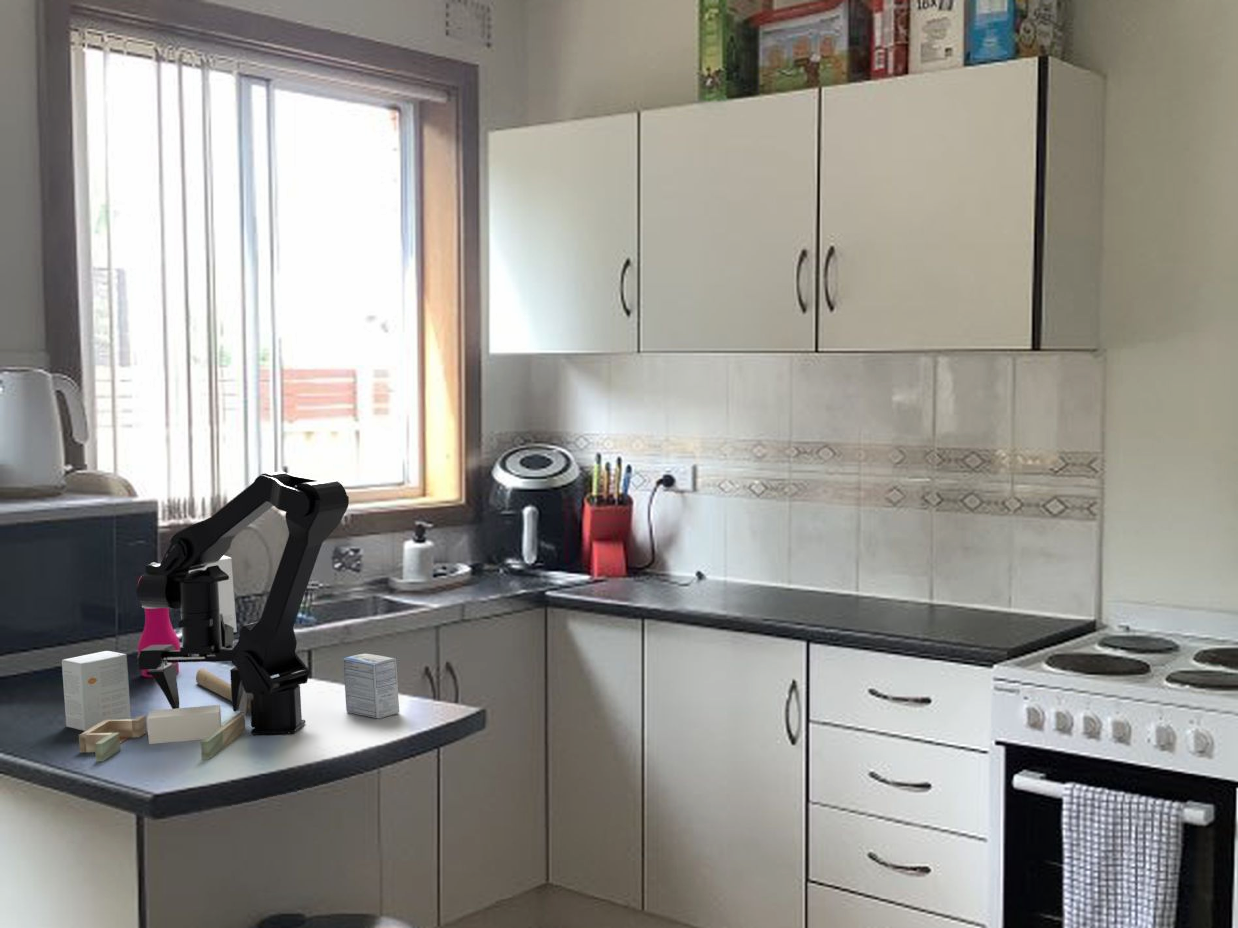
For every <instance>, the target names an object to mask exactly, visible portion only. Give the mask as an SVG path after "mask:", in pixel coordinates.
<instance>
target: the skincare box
mask: <svg viewBox="0 0 1238 928" xmlns="http://www.w3.org/2000/svg"><path fill="white" fill-rule="evenodd" d="M215 565H218V566H219V568H220V569H221V570H222V571H224V572H225V573H226V574H227V575H228V576H229V579H228V580H225V581H220V582H218V589H219V606H220V613H222V616H223V621H224V624H227V625H229V626H231V627H233V628H234V633H237V632H238V630H237V617H236V604H235V591H234V589H235V588H234V577H233V558H232V557H230V556H227V555H225V554H224V555H223V556H222V558H221V559H220V560H219V561H218V562H215V563H212V564H208V565H206V566H205V567H204V568H201V569H196V570H206V569H207V567H210V566H215ZM191 571H194V570H191ZM191 571H189V573H190V572H191Z"/></svg>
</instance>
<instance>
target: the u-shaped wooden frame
mask: <svg viewBox="0 0 1238 928" xmlns="http://www.w3.org/2000/svg"><path fill="white" fill-rule="evenodd" d="M246 730H247V727H246V714H245V713H237V714H236V715H234V716H233V717H232V718H230V719H229V720H227V722H224V723H223V724H221V727H220V728H218V729H217V730H216V731H214V732H213V733H212V734H210V735H209V736H208V737H206V738H205V739H201V740H200V749H201V751H200V752H201V760H210V759H211V758H213V757H214V756H215V755H217V754H218V753H219V752H220V751H222V750H223V749H224V748H225V747H226V746H228V745H229V744H230V743H231V742H233V741H234V740H235V739H237V738H238V737H239V736H240V735H241V734H243V733H244V732H245V731H246ZM145 734H148V720H147V715H139V716H137V717H135V718H131V719H113V720H103V721H102V722H100V723H98V724H97V725H95V726H93V727H92V728H90V729H88V730H87V731H83V732H82V733H80V734H78V745H79V753H80V754H81V753H95V762H104V761H106V760H107V759H109V758H111V756H113V755H115V754H116V753H118V752H119V751H121V744H122V743H124V742H125V741H126V740H128V739H129V738H141V737H142V736H143V735H145Z"/></svg>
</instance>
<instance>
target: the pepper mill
mask: <svg viewBox="0 0 1238 928" xmlns="http://www.w3.org/2000/svg"><path fill="white" fill-rule="evenodd" d="M154 563H156V562H155V561H154V562H151V563H150V564H154ZM143 575H144V574H142V575H141V576H140V577H139V580H138V582H137V584H138V583H139V581H140V579H141V577H142V576H143ZM141 608H142V609H144V614H145V616H144V618H145V619H144V620H145V621H144V627H143V631H142V634H141V636H140V639H139V640H138V645H137V654H138V653H139V652H140V651H141V650H143V649H145V648H147V647H149V646H151V645H173V646H174V648H175V650H180V648H181V643H180V640H179V638H178V636H177V634H176V632H175V629H174V628H173V625H172V622H171V620H170V613H169V612H170V609H168V608H152V607H145V606H143V605H142V604H141ZM177 663H178V666H177V673H176V675H177V674H179V672H180V668H179V662H174V663H171V664H177ZM146 671H148V670H141V674H142V677H145V678H149V679H150V678H153V676H152V675H146ZM153 679H154V678H153Z"/></svg>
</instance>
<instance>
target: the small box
mask: <svg viewBox="0 0 1238 928" xmlns="http://www.w3.org/2000/svg"><path fill="white" fill-rule="evenodd" d="M127 657H128V655H127V654H126V653H121V652H116V651H110V650H104V651H103V650H102V651H98V652H94V653H89V654H88V653H87V654H83V655H79V656H75V657H70V658H64V659H61V668H62V681H63V697H64V712H65V725H66V726H65V727H67V728H71V729H74V730H78V731H83V732H85V731H87V730H88V729H90V728H92V727H93V726H95V725H97V724H98V723H100V722H102V721H103V720H113V719H132V715H131V700H130V698H131V697H130V686H129V671H128V669H129V668H128V658H127Z"/></svg>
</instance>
